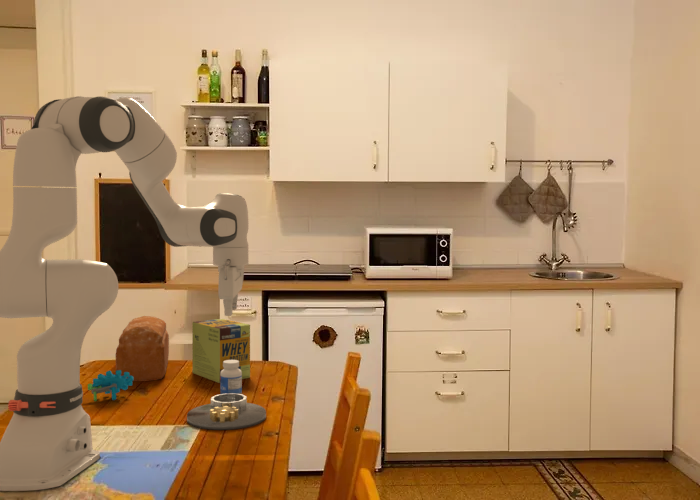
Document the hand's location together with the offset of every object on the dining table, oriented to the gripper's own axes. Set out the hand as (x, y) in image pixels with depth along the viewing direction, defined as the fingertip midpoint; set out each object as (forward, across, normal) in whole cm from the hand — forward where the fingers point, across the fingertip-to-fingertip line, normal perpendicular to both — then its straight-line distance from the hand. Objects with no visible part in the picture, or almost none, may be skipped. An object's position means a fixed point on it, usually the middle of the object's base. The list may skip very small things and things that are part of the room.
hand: (230, 312), depth 173 cm
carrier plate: (+22, -16, -1) cm, 27 cm away
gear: (+23, +3, +30) cm, 38 cm away
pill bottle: (+22, 0, 0) cm, 22 cm away
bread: (+23, +31, +30) cm, 48 cm away
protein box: (+23, +25, +6) cm, 34 cm away
